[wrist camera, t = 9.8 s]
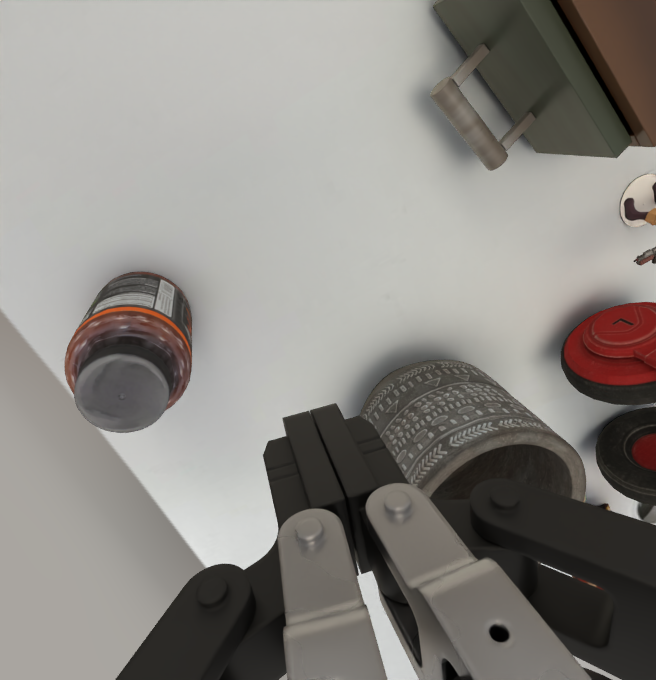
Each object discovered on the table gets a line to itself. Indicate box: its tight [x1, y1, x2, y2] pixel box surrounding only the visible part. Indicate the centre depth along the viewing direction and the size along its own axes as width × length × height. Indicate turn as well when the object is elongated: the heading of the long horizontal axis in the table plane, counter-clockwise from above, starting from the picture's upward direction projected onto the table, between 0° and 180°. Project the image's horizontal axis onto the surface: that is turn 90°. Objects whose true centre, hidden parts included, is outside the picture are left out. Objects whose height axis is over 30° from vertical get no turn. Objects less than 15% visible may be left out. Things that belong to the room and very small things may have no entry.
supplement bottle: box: [65, 272, 192, 433], centre depth 27 cm, size 6×6×11 cm
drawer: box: [430, 0, 632, 171], centre depth 27 cm, size 18×12×7 cm, turn 136°
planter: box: [360, 360, 586, 564], centre depth 34 cm, size 12×12×13 cm
